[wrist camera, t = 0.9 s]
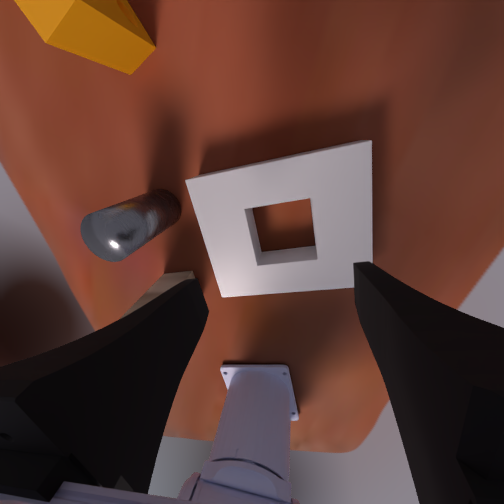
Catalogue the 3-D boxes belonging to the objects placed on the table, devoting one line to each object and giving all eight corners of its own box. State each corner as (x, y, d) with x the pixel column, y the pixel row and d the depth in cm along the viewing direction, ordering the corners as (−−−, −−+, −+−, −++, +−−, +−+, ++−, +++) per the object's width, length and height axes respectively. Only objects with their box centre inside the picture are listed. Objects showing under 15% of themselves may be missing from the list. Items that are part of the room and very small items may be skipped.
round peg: (185, 222, 21) (138, 258, 14) (154, 227, 21) (96, 264, 15) (173, 185, 19) (115, 208, 13) (140, 192, 20) (71, 217, 14)
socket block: (364, 269, 20) (372, 286, 17) (229, 281, 23) (222, 297, 20) (361, 140, 16) (371, 140, 14) (198, 175, 19) (184, 180, 16)
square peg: (202, 297, 24) (169, 353, 18) (174, 299, 25) (134, 353, 19) (192, 270, 23) (153, 320, 17) (163, 273, 24) (116, 322, 17)
